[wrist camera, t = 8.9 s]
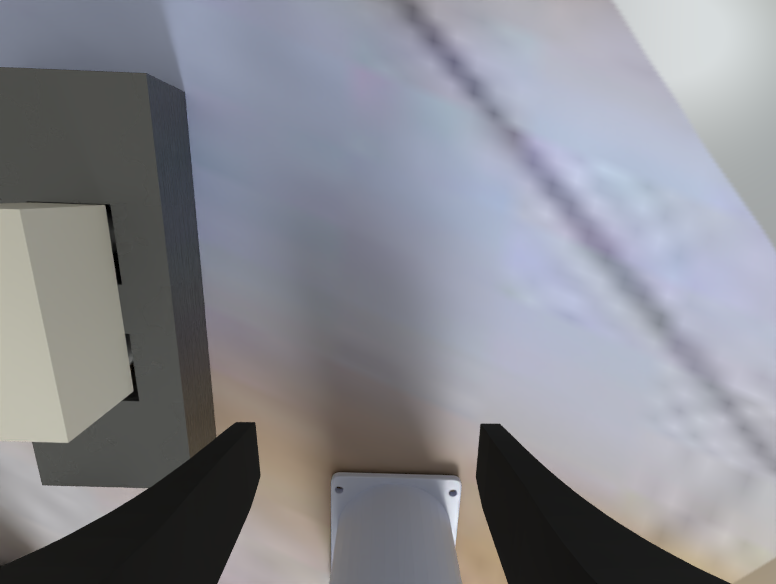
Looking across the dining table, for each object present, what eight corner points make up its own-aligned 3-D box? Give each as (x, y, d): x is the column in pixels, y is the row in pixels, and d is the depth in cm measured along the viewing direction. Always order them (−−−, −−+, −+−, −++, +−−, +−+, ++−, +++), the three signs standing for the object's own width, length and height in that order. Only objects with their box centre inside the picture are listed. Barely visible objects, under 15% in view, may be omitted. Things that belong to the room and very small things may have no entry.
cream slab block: (167, 364, 22) (68, 442, 15) (110, 362, 22) (-14, 440, 15) (147, 202, 19) (19, 209, 13) (83, 200, 19) (-79, 205, 13)
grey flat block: (217, 452, 23) (193, 489, 20) (85, 448, 23) (42, 485, 20) (184, 91, 18) (146, 73, 15) (14, 84, 18) (-57, 64, 15)
